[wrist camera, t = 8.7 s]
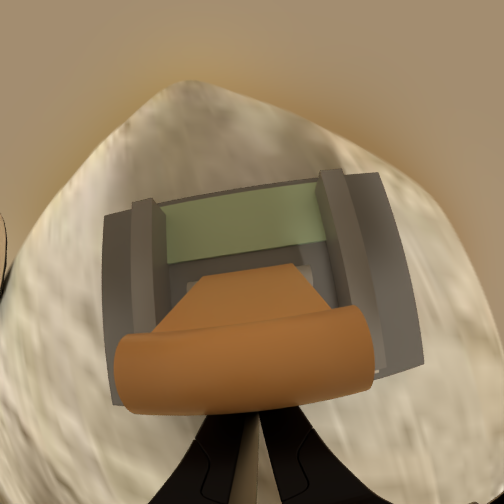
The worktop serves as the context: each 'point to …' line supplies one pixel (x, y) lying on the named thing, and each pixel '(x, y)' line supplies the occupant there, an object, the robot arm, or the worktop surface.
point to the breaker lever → (246, 348)
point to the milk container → (2, 251)
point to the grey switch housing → (265, 256)
